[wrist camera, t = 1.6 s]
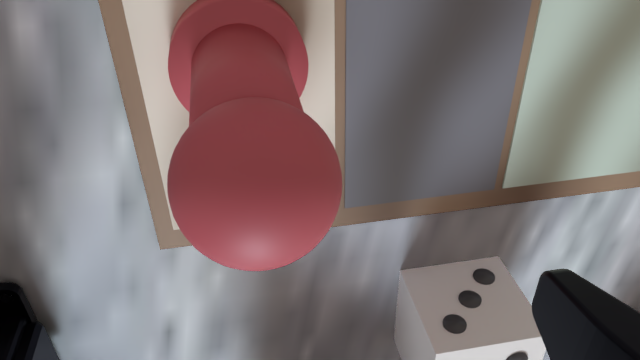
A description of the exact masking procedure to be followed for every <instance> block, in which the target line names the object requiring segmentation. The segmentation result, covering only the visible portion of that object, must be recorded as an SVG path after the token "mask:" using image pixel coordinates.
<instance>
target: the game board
mask: <svg viewBox="0 0 640 360" xmlns="http://www.w3.org/2000/svg"><path fill="white" fill-rule="evenodd" d="M195 1H197V0H98V2H99V6H100V10H101V14H102V18H103V22H104V26H105V30H106V34H107V38H108V42H109V46H110V50H111V54H112V58H113V62H114V66H115V70H116V74H117V78H118V82H119V86H120V90H121V94H122V98H123V102H124V106H125V110H126V114H127V118H128V122H129V126H130V130H131V134H132V138H133V142H134V146H135V150H136V154H137V158H138V162H139V166H140V170H141V174H142V178H143V182H144V186H145V190H146V194H147V198H148V202H149V206H150V210H151V214H152V218H153V222H154V226H155V230H156V234H157V238H158V242H159V246H160V250H161V249H169V248H176V247H184V246H192V244H191V243H190V242H189V241H188V240H187V239H186V237H185V236H184V235H183V233H182V232H181V230H180V229H179V227H178V225H177V223H176V221H175V219H174V217H173V214H172V211H171V207H170V204H169V199H168V192H167V175H168V170H169V165H170V160H171V157H172V154H173V152H174V149H175V147H176V145H177V144H178V142H179V140H180V138H181V136H182V135H183V134H184V132H185V131H186V130H187V128H188V127H189V112H188V111H187V110H186V109H185V108H184V106H183V105H182V104H181V103H180V101H179V100H178V98H177V96H176V95H175V93H174V91H173V88H172V86H171V83H170V79H169V73H168V56H169V48H170V42H171V36H172V33H173V30H174V27H175V25H176V23H177V21H178V20H179V18H180V17H181V15H182V14H183V13H184V12H185V10H186V9H187V8H188V7H189V6H190V5H192V4H193V3H194V2H195ZM274 1H276V2H277V3H278V4H279V5H281V6H282V7H283V8H284V9H285V10H286V11H287V12H288V13H289V15H290V16H291V17H292V19H293V20H294V22H295V24H296V26H297V28H298V30H299V32H300V35H301V37H302V39H303V42H304V44H305V47H306V51H307V55H308V64H309V65H308V77H307V82H306V85H305V88H304V90H303V93H302V95H301V97H300V98H299V99H300V102H301V105H302V108H303V111H304V113H306V114H307V115H309V116H310V117H311V118H312V119H313V120H314V121H316V122H317V123H318V125H319V126H320V127H321V128H322V129H323V130H324V132H325V133H326V134H327V136H328V137H329V139H330V141H331V142H332V144H333V146H334V148H335V151H336V153H337V156H338V159H339V163H340V167H341V172H342V196H341V201H340V205H339V209H338V212H337V215H336V217H335V220H334V222H333V224H332V226H331V227H337V226H344V225H352V224H360V223H367V222H375V221H383V220H390V219H398V218H405V217H413V216H421V215H428V214H436V213H444V212H451V211H459V210H467V209H474V208H482V207H489V206H497V205H505V204H512V203H520V202H528V201H535V200H543V199H551V198H558V197H566V196H574V195H581V194H589V193H596V192H604V191H612V190H619V189H627V188H635V187H640V0H274Z"/></svg>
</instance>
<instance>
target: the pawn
mask: <svg viewBox="0 0 640 360" xmlns="http://www.w3.org/2000/svg"><path fill="white" fill-rule="evenodd" d="M308 65H309V64H308V55H307V51H306V47H305V44H304V42H303V39H302V37H301V35H300V32H299V30H298V28H297V26H296V24H295V22H294V20H293V19H292V17H291V16H290V15H289V13H288V12H287V11H286V10H285V9H284V8H283V7H282V6H281V5H279V4H278V3H277V2H276V1H274V0H197V1H195V2H194V3H193V4H192V5H190V6H189V7H188V8H187V9H186V10H185V12H184V13H183V14H182V15H181V17H180V18H179V20H178V21H177V23H176V25H175V27H174V30H173V33H172V36H171V42H170V48H169V56H168V73H169V79H170V83H171V86H172V88H173V91H174V93H175V95H176V96H177V98H178V100H179V101H180V103H181V104H182V105H183V106H184V108H185V109H186V110H187V111H188V112H189V127H188V128H187V130H186V131H185V132H184V134H183V135H182V136H181V138H180V140H179V142H178V144H177V145H176V147H175V149H174V152H173V154H172V157H171V160H170V165H169V170H168V175H167V192H168V199H169V204H170V207H171V211H172V214H173V217H174V219H175V221H176V223H177V225H178V227H179V229H180V230H181V232H182V233H183V235H184V236H185V237H186V239H187V240H188V241H189V242H190V243H191V244H192V245H193V246H194V247H195V248H196V249H197V250H198V251H199V252H201V253H202V254H203V255H205V256H207V257H208V258H210V259H211V260H213V261H215V262H217V263H219V264H221V265H224V266H227V267H230V268H234V269H239V270H246V271H264V270H271V269H276V268H279V267H283V266H285V265H288V264H290V263H292V262H294V261H296V260H298V259H300V258H301V257H303V256H304V255H306V254H307V253H309V252H310V251H311V250H312V249H314V248H315V247H316V246H317V244H318V243H319V242H320V241H321V240H322V239H323V238H324V236H325V235H326V234H327V232H328V231H329V229H330V227H331V226H332V224H333V222H334V220H335V217H336V215H337V212H338V209H339V205H340V201H341V196H342V172H341V167H340V163H339V159H338V156H337V153H336V151H335V148H334V146H333V144H332V142H331V141H330V139H329V137H328V136H327V134H326V133H325V132H324V130H323V129H322V128H321V127H320V126H319V125H318V123H317V122H316V121H314V120H313V119H312V118H311V117H310V116H309V115H307V114H306V113H304V111H303V108H302V105H301V102H300V99H299V98H300V97H301V95H302V93H303V90H304V88H305V85H306V82H307V77H308Z"/></svg>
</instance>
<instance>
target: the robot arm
mask: <svg viewBox="0 0 640 360" xmlns="http://www.w3.org/2000/svg"><path fill="white" fill-rule="evenodd" d="M5 294H9V295H12V296H8V295H5ZM532 314H533V317H534V320H535V323H536V325H537V328H538V330H539V332H540V335H541V337H542V340H543V342H544V345H545V347H546V350H547V352H548V355H549V357H550V360H640V313H639V312H638V311H636V310H635V309H633V308H631V307H630V306H628V305H626V304H625V303H623V302H621V301H620V300H618V299H616V298H615V297H613V296H612V295H610V294H608V293H607V292H605V291H603V290H602V289H600V288H598V287H597V286H595V285H594V284H592V283H590V282H589V281H587V280H585V279H584V278H582V277H580V276H579V275H577V274H575V273H574V272H572V271H570V270H568V269H557V270H550V271H545V272H544V273H543V274H542V275H541V276H540V279H539V282H538V285H537V289H536V292H535V295H534V298H533V302H532ZM0 360H59V358H58V356H57V354H56V352H55V350H54V347H53V345H52V343H51V341H50V339H49V337H48V334H47V332H46V330H45V328H44V326H43V325H42V324H41V323H40V322H38V321H37V319H36V317H35V315H34V313H33V311H32V309H31V306H30V304H29V302H28V300H27V298H26V296H25V294H24V292H23V289H22V288H21V287H20V286H18V285H17V284H14V283H0Z"/></svg>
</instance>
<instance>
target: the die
mask: <svg viewBox="0 0 640 360" xmlns="http://www.w3.org/2000/svg"><path fill="white" fill-rule="evenodd" d="M394 341H395V344H396V346H397V349H398V352H399V355H400V357H401V360H543V357H544V354H545V351H546V347H545V345H544V342H543V340H542V337H541V335H540V332H539V330H538V328H537V325H536V323H535V320H534V317H533V314H532V306H531V304H530V303H529V301H528V300H527V298H526V297H525V295H524V294H523V292H522V291H521V289H520V288H519V286H518V285H517V283H516V282H515V280H514V279H513V277H512V276H511V274H510V273H509V271H508V270H507V268H506V267H505V265H504V264H503V262H502V261H501V259H500V258H499V256H496V257H489V258H482V259H475V260H468V261H461V262H454V263H447V264H440V265H433V266H426V267H419V268H412V269H405V270H400V274H399V286H398V297H397V308H396V320H395V331H394Z"/></svg>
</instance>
